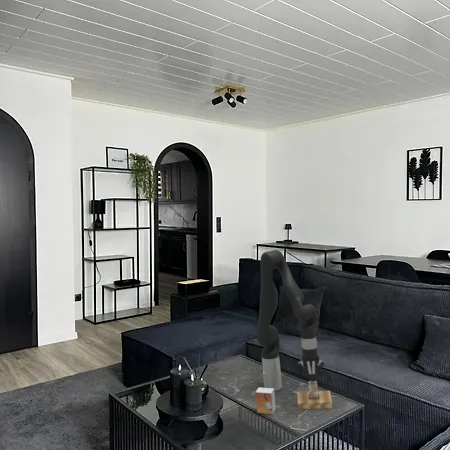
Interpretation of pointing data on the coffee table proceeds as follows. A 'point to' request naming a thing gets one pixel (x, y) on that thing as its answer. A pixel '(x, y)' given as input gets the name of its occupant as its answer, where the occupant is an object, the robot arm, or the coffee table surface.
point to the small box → (265, 400)
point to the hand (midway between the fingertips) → (312, 380)
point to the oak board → (314, 400)
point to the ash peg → (313, 390)
